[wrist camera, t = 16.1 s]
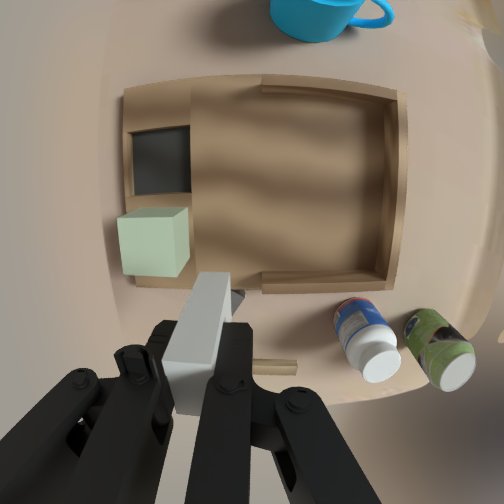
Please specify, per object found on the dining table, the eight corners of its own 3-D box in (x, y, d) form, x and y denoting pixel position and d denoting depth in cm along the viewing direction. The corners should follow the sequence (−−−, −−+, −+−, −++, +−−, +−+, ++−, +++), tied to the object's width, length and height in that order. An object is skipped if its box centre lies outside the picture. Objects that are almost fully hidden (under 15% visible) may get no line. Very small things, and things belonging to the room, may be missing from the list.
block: (139, 207, 25) (116, 218, 21) (187, 206, 25) (173, 217, 21) (143, 256, 27) (123, 274, 22) (190, 257, 27) (176, 277, 22)
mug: (263, 33, 21) (266, -7, 13) (275, -18, 19) (280, -60, 11) (375, 63, 22) (411, 37, 14) (377, 10, 19) (407, -21, 11)
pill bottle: (381, 314, 31) (416, 363, 21) (348, 341, 32) (372, 396, 23) (358, 286, 29) (393, 334, 20) (322, 316, 31) (344, 373, 21)
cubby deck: (130, 91, 23) (110, 82, 19) (384, 92, 23) (405, 82, 18) (141, 281, 29) (125, 299, 25) (374, 280, 29) (391, 298, 25)
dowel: (201, 353, 33) (199, 361, 31) (296, 358, 33) (297, 366, 32) (202, 362, 33) (200, 370, 32) (294, 367, 34) (295, 375, 32)
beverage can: (415, 348, 33) (454, 404, 21) (386, 330, 31) (427, 393, 20) (443, 314, 31) (490, 364, 19) (417, 292, 30) (470, 345, 18)
